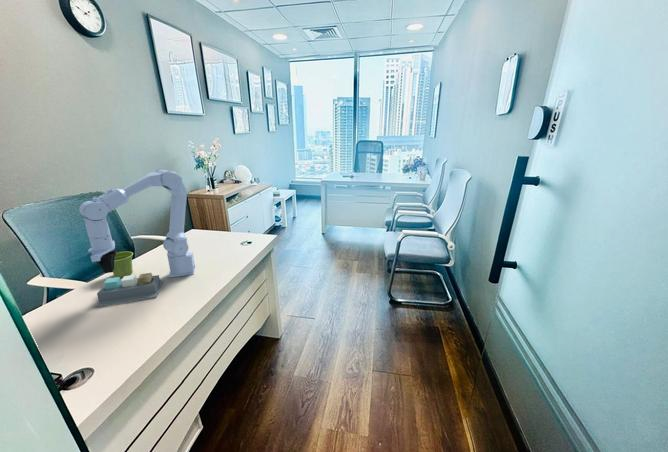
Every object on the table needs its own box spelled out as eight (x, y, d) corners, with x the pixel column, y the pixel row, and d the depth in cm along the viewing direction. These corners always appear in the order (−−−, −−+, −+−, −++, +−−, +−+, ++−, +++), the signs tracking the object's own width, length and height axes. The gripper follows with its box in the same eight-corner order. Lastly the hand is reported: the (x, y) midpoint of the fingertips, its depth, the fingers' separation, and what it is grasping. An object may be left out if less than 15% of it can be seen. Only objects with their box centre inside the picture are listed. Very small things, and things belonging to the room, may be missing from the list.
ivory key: (137, 282, 100) (135, 274, 99) (134, 287, 97) (132, 279, 96) (126, 284, 99) (124, 276, 98) (123, 289, 95) (120, 280, 94)
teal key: (121, 285, 98) (119, 276, 97) (118, 290, 95) (116, 281, 94) (109, 286, 97) (107, 278, 96) (106, 292, 94) (103, 283, 93)
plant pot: (122, 281, 106) (117, 262, 104) (103, 278, 108) (98, 259, 105) (142, 270, 115) (138, 252, 112) (124, 268, 117) (120, 250, 114)
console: (163, 280, 108) (161, 272, 106) (156, 297, 96) (154, 288, 95) (109, 288, 101) (106, 279, 100) (94, 307, 90) (91, 297, 88)
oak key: (153, 280, 102) (151, 272, 101) (150, 285, 99) (149, 277, 98) (142, 282, 100) (140, 274, 99) (139, 286, 97) (137, 278, 96)
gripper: (94, 230, 94) (103, 264, 99) (74, 245, 82) (86, 283, 86) (118, 228, 97) (126, 261, 101) (102, 242, 84) (112, 279, 88)
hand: (109, 271), depth 94 cm, fingers closed
